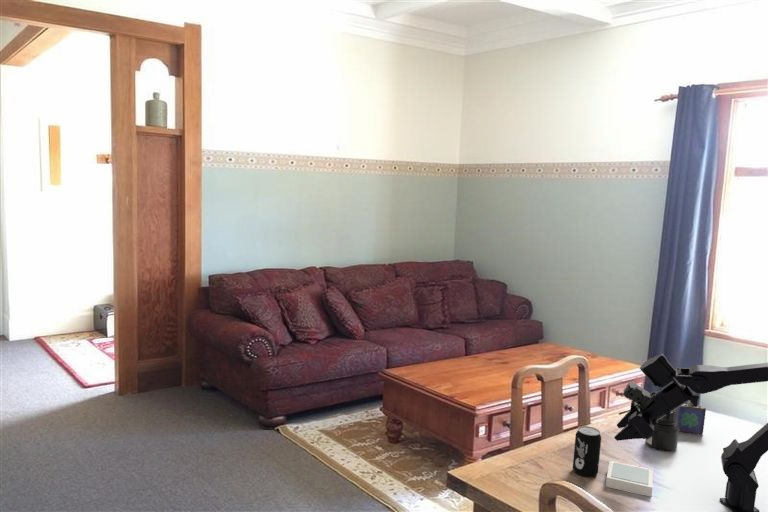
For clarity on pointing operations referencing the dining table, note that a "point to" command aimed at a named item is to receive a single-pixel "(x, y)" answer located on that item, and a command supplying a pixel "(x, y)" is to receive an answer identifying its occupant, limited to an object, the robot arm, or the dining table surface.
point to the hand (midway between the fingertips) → (616, 432)
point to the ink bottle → (665, 434)
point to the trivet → (630, 478)
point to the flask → (690, 419)
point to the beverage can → (587, 451)
